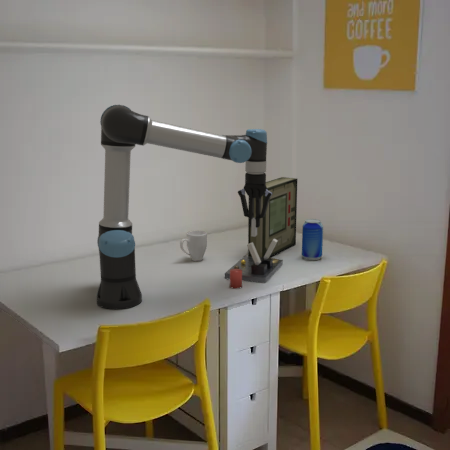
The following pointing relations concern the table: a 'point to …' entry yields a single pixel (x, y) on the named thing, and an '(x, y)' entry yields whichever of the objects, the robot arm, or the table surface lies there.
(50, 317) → the table surface
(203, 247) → the mug
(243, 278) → the panel
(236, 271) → the red rounded cylinder
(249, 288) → the table surface
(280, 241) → the control panel
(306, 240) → the beer can
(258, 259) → the breaker
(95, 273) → the table surface
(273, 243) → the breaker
